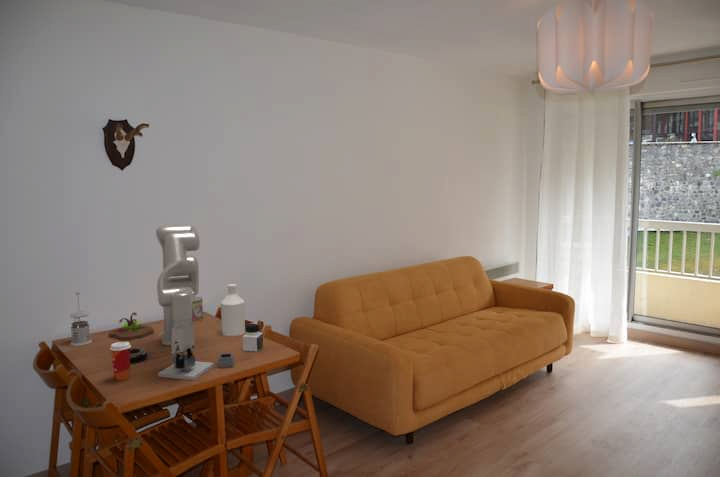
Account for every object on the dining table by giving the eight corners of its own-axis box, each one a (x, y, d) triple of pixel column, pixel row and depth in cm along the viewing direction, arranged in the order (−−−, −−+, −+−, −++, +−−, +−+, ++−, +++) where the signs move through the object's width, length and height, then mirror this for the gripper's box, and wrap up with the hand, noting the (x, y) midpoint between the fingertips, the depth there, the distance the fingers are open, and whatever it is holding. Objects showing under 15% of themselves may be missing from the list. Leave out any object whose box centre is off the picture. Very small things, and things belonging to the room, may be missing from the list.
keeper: (158, 376, 219) (157, 353, 217) (180, 363, 234) (179, 341, 233) (193, 380, 215) (192, 357, 213) (214, 366, 230) (213, 344, 229)
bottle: (217, 333, 277) (215, 285, 274) (236, 328, 286) (234, 281, 283) (230, 337, 270) (229, 288, 267) (250, 332, 278) (248, 284, 275)
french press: (72, 346, 256) (69, 295, 253) (66, 341, 265) (62, 291, 261) (95, 342, 262) (91, 292, 259) (88, 337, 271) (85, 288, 268)
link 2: (218, 367, 228) (218, 358, 228) (219, 362, 234) (219, 353, 234) (233, 366, 229) (232, 357, 229) (233, 361, 235) (233, 353, 235)
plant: (161, 333, 279) (160, 312, 277) (126, 343, 263) (125, 320, 261) (138, 327, 290) (136, 306, 289) (103, 336, 274) (102, 314, 272)
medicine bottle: (257, 352, 248) (256, 326, 247) (242, 351, 250) (242, 325, 248) (263, 347, 255) (262, 322, 254) (249, 346, 257) (248, 321, 255)
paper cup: (115, 374, 221) (113, 341, 219) (135, 374, 221) (133, 340, 220) (108, 382, 213) (106, 347, 211) (128, 381, 213) (126, 347, 212)
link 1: (173, 368, 219) (173, 359, 218) (182, 363, 224) (181, 354, 224) (187, 370, 217) (186, 360, 217) (195, 365, 223) (194, 355, 222)
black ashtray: (124, 355, 244) (124, 347, 244) (151, 355, 245) (150, 346, 244) (114, 364, 233) (114, 355, 232) (142, 364, 233) (142, 355, 233)
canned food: (192, 323, 295) (191, 302, 294) (177, 320, 301) (176, 299, 299) (207, 318, 305) (206, 297, 303) (193, 316, 310) (192, 295, 309)
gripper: (186, 315, 228) (188, 357, 230) (161, 327, 211) (163, 371, 213) (202, 317, 226) (204, 358, 228) (178, 328, 209) (180, 373, 212)
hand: (184, 364), depth 221 cm, fingers closed on link 1, 5 cm apart
